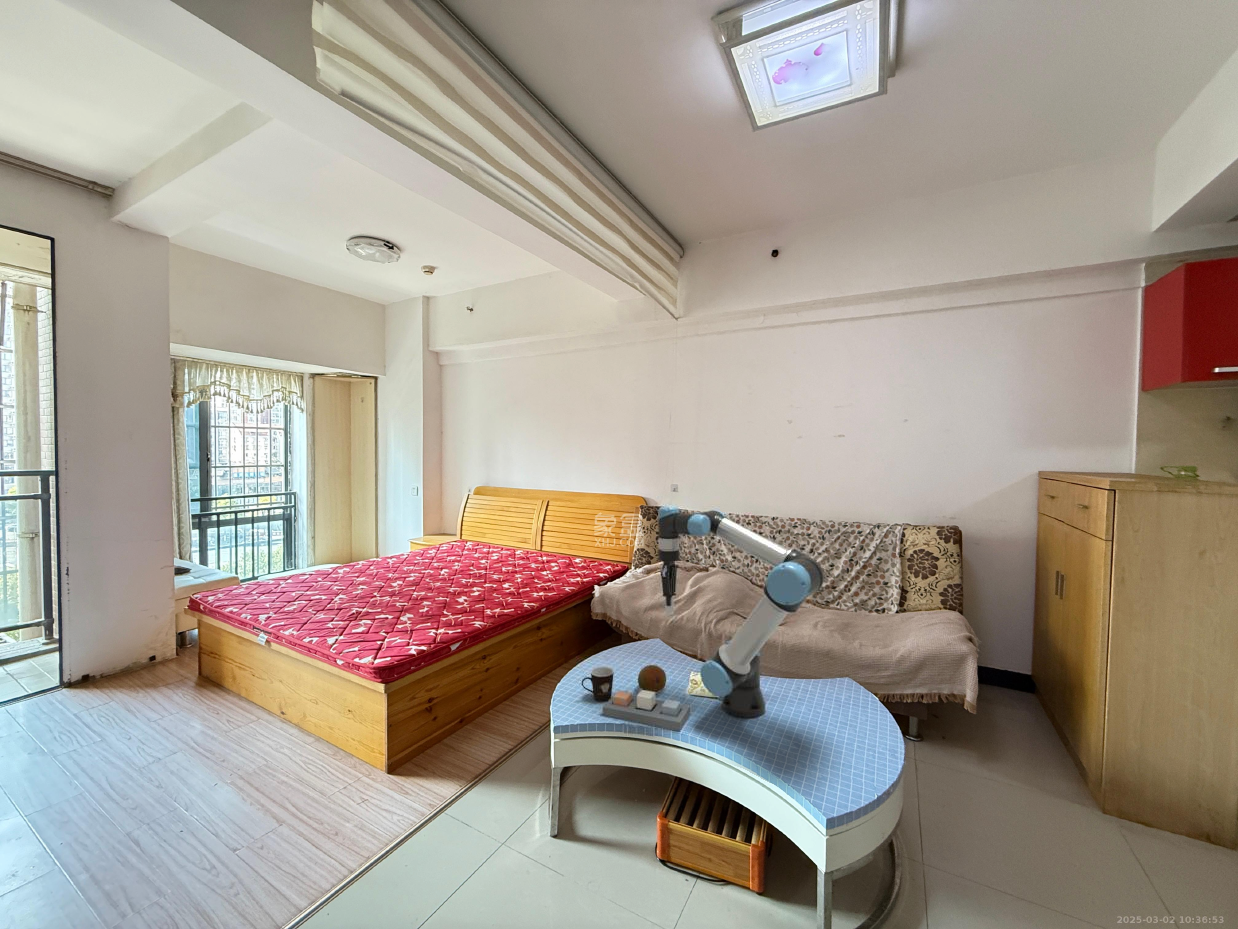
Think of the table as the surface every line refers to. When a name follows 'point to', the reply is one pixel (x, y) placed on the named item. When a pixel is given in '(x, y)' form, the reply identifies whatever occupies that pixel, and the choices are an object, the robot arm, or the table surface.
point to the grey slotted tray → (647, 714)
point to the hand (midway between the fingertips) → (669, 614)
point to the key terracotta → (622, 698)
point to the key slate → (671, 708)
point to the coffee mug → (601, 683)
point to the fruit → (652, 678)
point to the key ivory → (646, 700)
